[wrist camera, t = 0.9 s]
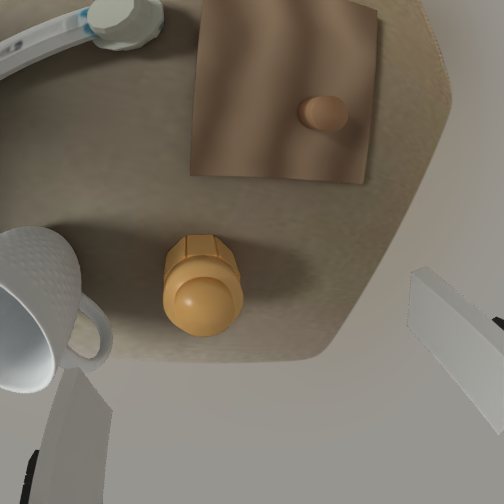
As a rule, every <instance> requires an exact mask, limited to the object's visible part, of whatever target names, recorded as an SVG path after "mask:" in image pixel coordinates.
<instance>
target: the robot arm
mask: <svg viewBox="0 0 504 504" xmlns="http://www.w3.org/2000/svg"><path fill="white" fill-rule="evenodd" d="M407 327H408V328H409V329H410V330H411V331H412V332H413V333H414V334H415V336H416V337H417V338H418V339H419V340H420V341H421V342H422V343H423V345H424V346H425V347H426V348H427V349H428V350H429V351H430V352H431V354H432V355H433V356H434V357H435V358H436V359H437V361H438V362H439V363H440V364H441V365H442V366H443V367H444V369H445V370H446V371H447V372H448V373H449V375H450V376H451V377H452V378H453V379H454V380H455V382H456V383H457V384H458V385H459V387H460V388H461V389H462V390H463V391H464V392H465V394H466V395H467V396H468V397H469V398H470V400H471V401H472V402H473V404H474V405H475V406H476V407H477V408H478V410H479V411H480V412H481V414H482V415H483V416H484V417H485V419H486V420H487V421H488V423H489V424H490V425H491V426H492V428H493V429H494V430H495V432H496V433H497V434H498V435H500V434H501V433H502V432H504V320H503V319H501V318H498V317H495V318H493V319H492V320H491V319H490V318H488V317H487V316H486V315H485V314H484V313H483V312H482V311H481V310H479V309H478V308H477V307H476V306H475V305H473V304H472V303H471V302H470V301H469V300H467V299H466V298H465V297H464V296H463V295H461V294H460V293H459V292H458V291H456V290H455V289H454V288H453V287H451V286H450V285H449V284H447V283H446V282H445V281H444V280H443V279H441V278H440V277H439V276H438V275H436V274H435V273H434V272H432V271H431V270H430V269H428V268H427V267H424V268H421V269H418V270H416V271H413V272H411V284H410V298H409V310H408V321H407ZM111 418H112V409H111V408H110V407H109V406H108V404H107V403H106V402H105V401H104V399H103V398H102V397H101V396H100V394H99V393H98V392H97V390H96V389H95V388H94V387H93V385H92V384H91V383H90V381H89V380H88V378H87V377H86V376H85V374H84V373H83V372H82V370H81V369H80V367H76V368H70V369H64V372H63V374H62V378H61V380H60V383H59V386H58V389H57V392H56V395H55V398H54V401H53V405H52V408H51V411H50V414H49V418H48V421H47V425H46V428H45V432H44V435H43V439H42V443H41V447H40V450H35V451H34V453H33V455H32V456H31V458H30V460H29V462H28V466H27V471H26V474H27V475H25V479H24V483H25V484H24V485H23V489H22V494H21V499H20V504H103V489H104V477H105V466H106V457H107V446H108V440H109V431H110V424H111Z"/></svg>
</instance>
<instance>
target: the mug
mask: <svg viewBox="0 0 504 504" xmlns="http://www.w3.org/2000/svg"><path fill="white" fill-rule="evenodd" d="M81 283H82V282H81V272H80V265H79V263H78V259H77V257H76V254H75V252H74V250H73V248H72V247H71V245H70V244H69V243H68V242H67V241H66V239H65V238H63V237H62V236H61V235H60V234H58V233H57V232H55V231H53V230H50V229H48V228H44V227H42V226H41V227H39V226H29V225H28V226H25V227H24V226H21V227H19V228H13V229H11V230H7V231H5V232H3V233H0V387H1V388H3V389H6V390H9V391H13V392H18V393H33V392H37V391H40V390H43V389H44V388H46V387H47V386H48V385H49V384H50V383H51V382H52V380H53V378H54V375H55V374H56V371H57V369H58V366H59V367H61V368H63V369H70V368H76V367H80V369H81V370H82V372H83V373H88V372H92V371H94V370H96V369H97V368H98V367H100V366H101V365H102V364H103V363H104V362H105V361H106V359H107V358H108V356H109V354H110V352H111V349H112V344H113V331H112V327H111V324H110V321H109V319H108V318H107V316H106V315H105V313H104V312H103V311H102V310H101V308H100V307H99V306H98V305H97V304H96V303H95V302H94V301H92V300H91V299H90V298H89V297H88V296H86V295H85V294H84V293H83V292H81ZM78 310H81V311H82V312H83V313H84V314H86V315H87V316H88V317H89V318H90V319H91V320H92V321H93V322H94V324H95V325H96V327H97V329H98V331H99V334H100V350H99V352H98V354H97V355H96V356H95V357H94V358H91V359H88V358H85V357H83V356H80V355H79V354H77V353H76V352H75V351H73V350H72V349H71V348H70V347H69V346H68V345H67V343H68V341H69V339H70V337H71V332H72V330H73V328H74V323H75V320H76V318H77V312H78Z"/></svg>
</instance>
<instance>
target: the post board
mask: <svg viewBox="0 0 504 504" xmlns="http://www.w3.org/2000/svg"><path fill="white" fill-rule="evenodd" d="M376 50H377V10H374V9H371V8H369V7H366V6H363V5H360V4H356V3H353V2H350V1H347V0H203V5H202V13H201V22H200V31H199V41H198V52H197V63H196V75H195V88H194V103H193V120H192V139H191V165H190V176H239V177H265V178H285V179H302V180H316V181H329V182H341V183H352V184H363V183H364V176H365V169H366V162H367V154H368V146H369V138H370V129H371V119H372V109H373V98H374V85H375V70H376Z"/></svg>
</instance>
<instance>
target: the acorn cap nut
mask: <svg viewBox="0 0 504 504" xmlns="http://www.w3.org/2000/svg"><path fill="white" fill-rule="evenodd" d="M163 306H164V310H165V312H166V314H167V316H168V318H169V319H170V320H171V321H172V323H174V324H175V325H176V326H177V327H179V328H180V329H182V330H184V331H185V332H187V333H189V334H191V335H194V336H198V337H209V336H214V335H217V334H219V333H221V332H223V331H224V330H225V329H227V328H228V327H229V325H230V324H232V323H233V322H234V321H235V320H236V318H237V317H238V316H239V314H240V312H241V310H242V306H243V292H242V289H241V286H240V274H239V271H238V268H237V264H236V261H235V258H234V255H233V253H232V251H231V250H230V249H229V248H228V247H226V246H225V245H224V244H223V243H222V242H221V241H220V240H219V239H218V238H217V237H216V236H214V237H213V235H187V237H186V236H184V237H183V238H182V239H181V240H180V241H179V242H178V243H177V244H176V245H175V246H174V247H173V248H172V249H171V250H170V251H169V252H168V253H167V255H166V262H165V269H164V294H163Z"/></svg>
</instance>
